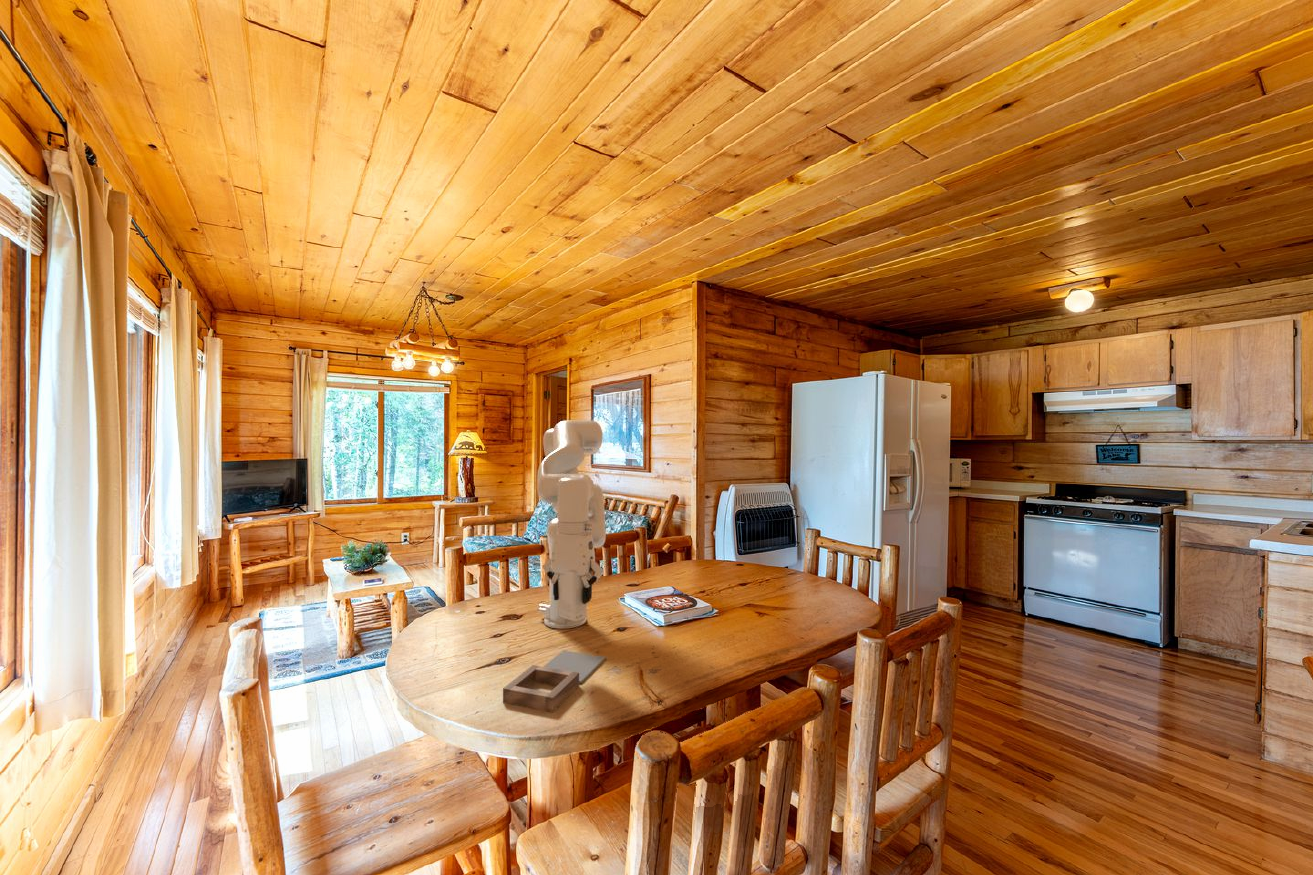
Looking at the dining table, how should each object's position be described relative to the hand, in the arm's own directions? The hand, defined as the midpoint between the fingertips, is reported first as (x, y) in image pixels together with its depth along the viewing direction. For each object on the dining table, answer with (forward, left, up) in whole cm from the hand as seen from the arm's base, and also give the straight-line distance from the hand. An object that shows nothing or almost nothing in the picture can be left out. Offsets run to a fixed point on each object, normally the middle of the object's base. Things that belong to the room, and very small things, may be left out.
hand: (572, 599), depth 132 cm
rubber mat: (0, 0, -17) cm, 17 cm away
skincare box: (0, 0, -4) cm, 4 cm away
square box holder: (0, -14, -17) cm, 22 cm away
